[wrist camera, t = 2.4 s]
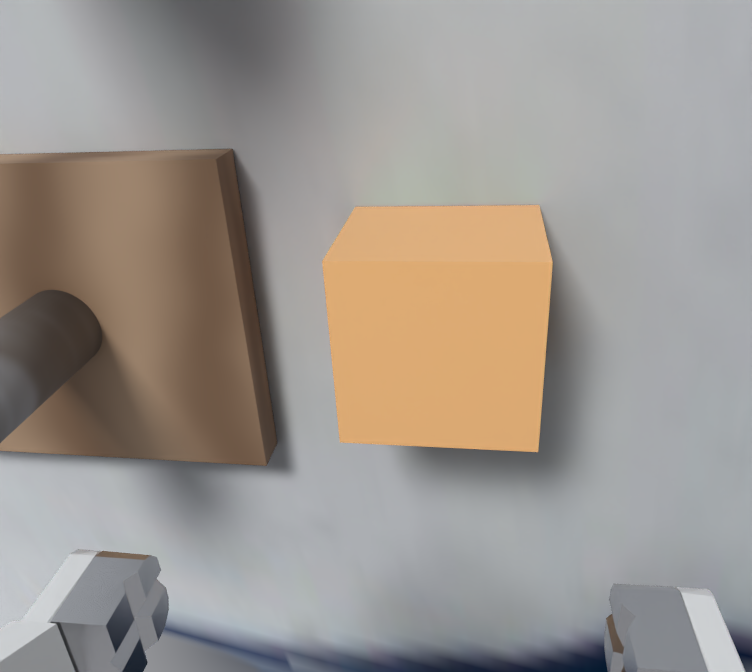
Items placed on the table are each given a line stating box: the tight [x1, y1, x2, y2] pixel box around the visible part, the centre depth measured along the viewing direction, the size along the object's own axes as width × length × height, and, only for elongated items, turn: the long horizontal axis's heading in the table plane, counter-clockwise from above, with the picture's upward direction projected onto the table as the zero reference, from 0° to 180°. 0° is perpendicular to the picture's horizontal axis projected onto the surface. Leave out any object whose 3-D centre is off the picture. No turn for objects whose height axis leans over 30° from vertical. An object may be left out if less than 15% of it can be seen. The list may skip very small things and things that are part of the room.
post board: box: [0, 149, 277, 466], centre depth 21 cm, size 14×12×10 cm
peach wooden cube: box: [322, 205, 553, 452], centre depth 21 cm, size 6×6×5 cm
